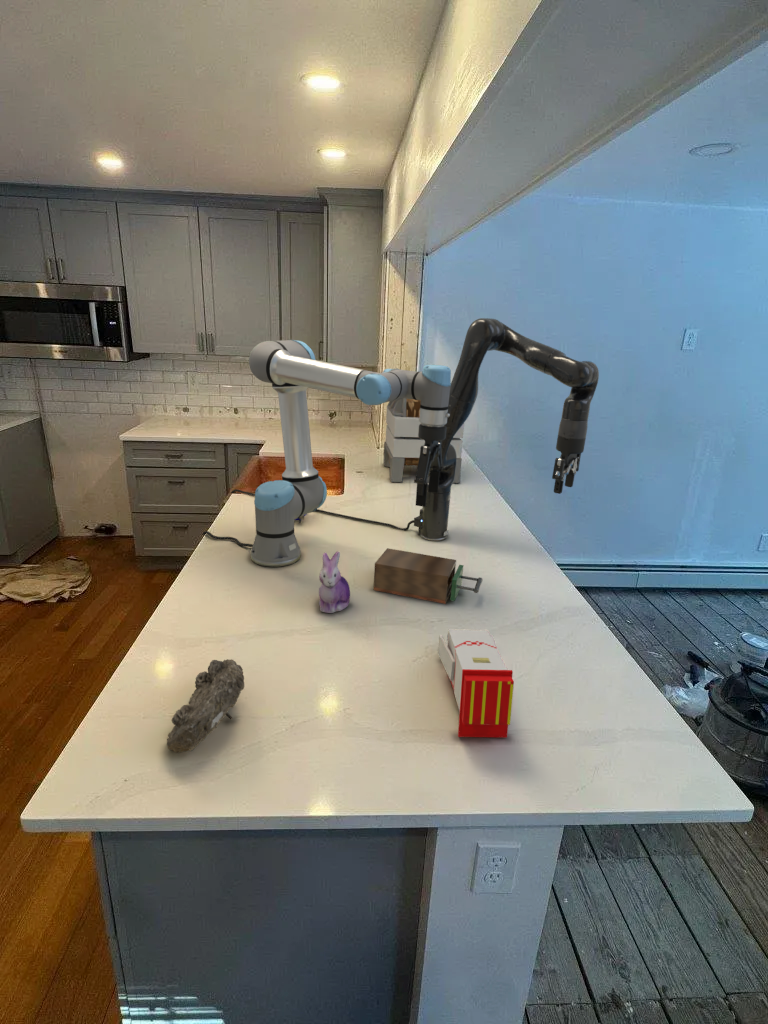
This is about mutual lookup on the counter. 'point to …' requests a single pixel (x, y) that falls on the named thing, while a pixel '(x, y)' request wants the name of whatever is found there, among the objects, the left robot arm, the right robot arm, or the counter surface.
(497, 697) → the toy
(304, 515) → the figurine character
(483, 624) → the counter surface
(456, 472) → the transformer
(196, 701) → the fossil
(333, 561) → the figurine
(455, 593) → the drawer
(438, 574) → the cabinet
